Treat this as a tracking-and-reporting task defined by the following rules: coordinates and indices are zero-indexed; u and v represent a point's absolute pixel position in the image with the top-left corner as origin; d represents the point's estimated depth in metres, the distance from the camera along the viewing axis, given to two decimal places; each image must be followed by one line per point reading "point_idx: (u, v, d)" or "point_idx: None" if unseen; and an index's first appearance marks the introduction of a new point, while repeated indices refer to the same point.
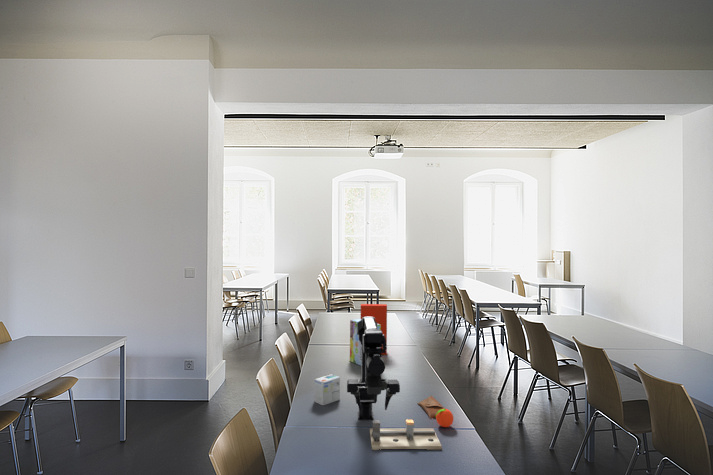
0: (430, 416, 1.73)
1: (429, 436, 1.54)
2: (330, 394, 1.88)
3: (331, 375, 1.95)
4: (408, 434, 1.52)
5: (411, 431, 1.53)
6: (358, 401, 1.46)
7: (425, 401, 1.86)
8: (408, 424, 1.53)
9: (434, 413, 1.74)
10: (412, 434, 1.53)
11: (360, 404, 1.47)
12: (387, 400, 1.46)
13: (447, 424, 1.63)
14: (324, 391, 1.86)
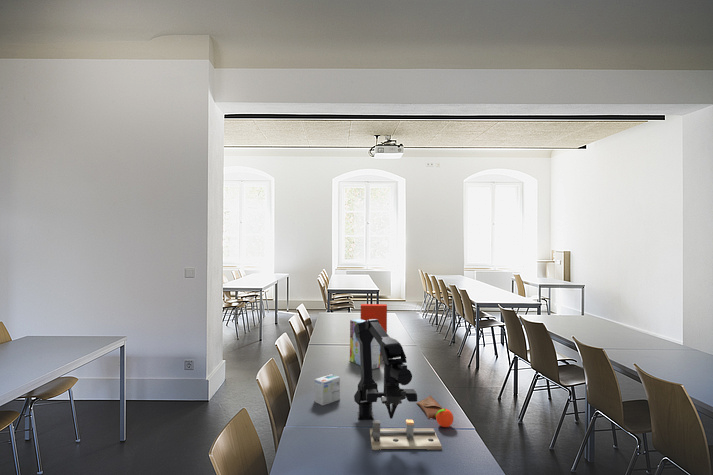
0: (428, 416, 1.73)
1: (429, 436, 1.54)
2: (330, 394, 1.88)
3: (331, 375, 1.95)
4: (408, 434, 1.52)
5: (411, 431, 1.53)
6: (389, 410, 1.52)
7: (424, 401, 1.86)
8: (408, 424, 1.53)
9: (432, 413, 1.74)
10: (412, 434, 1.53)
11: (391, 413, 1.53)
12: (393, 409, 1.52)
13: (447, 424, 1.63)
14: (324, 391, 1.86)
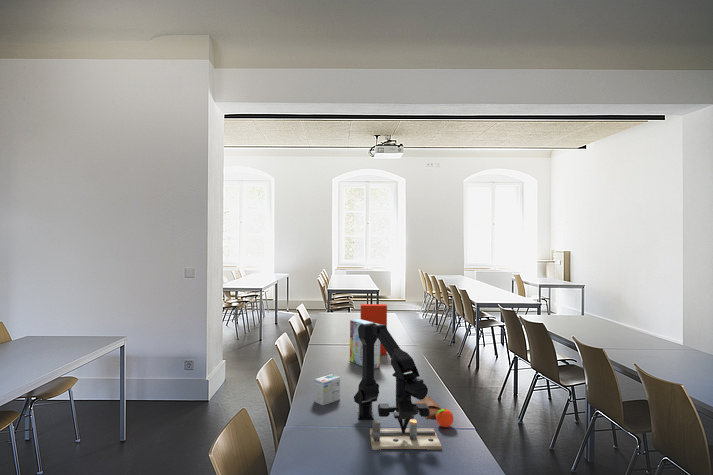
0: None
1: (429, 436, 1.54)
2: (330, 394, 1.88)
3: (331, 375, 1.95)
4: (411, 434, 1.53)
5: (414, 431, 1.53)
6: (401, 425, 1.52)
7: (422, 401, 1.86)
8: (411, 424, 1.53)
9: (431, 413, 1.74)
10: (415, 434, 1.53)
11: (403, 427, 1.53)
12: (405, 424, 1.52)
13: (447, 424, 1.63)
14: (324, 391, 1.86)
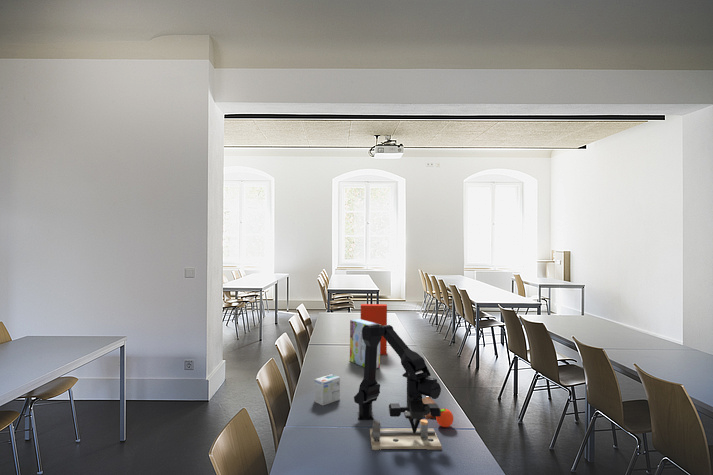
0: (426, 416, 1.73)
1: (429, 436, 1.54)
2: (330, 394, 1.88)
3: (331, 375, 1.95)
4: (422, 434, 1.53)
5: (425, 431, 1.53)
6: (412, 425, 1.52)
7: None
8: (422, 424, 1.53)
9: None
10: (426, 434, 1.53)
11: (414, 427, 1.53)
12: (416, 424, 1.52)
13: (447, 424, 1.63)
14: (324, 391, 1.86)
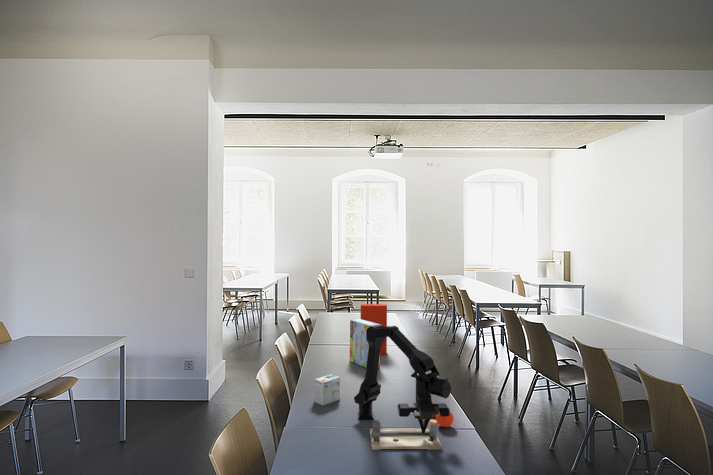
0: None
1: None
2: (330, 394, 1.88)
3: (331, 375, 1.95)
4: (431, 434, 1.53)
5: (434, 431, 1.53)
6: (421, 425, 1.52)
7: None
8: (431, 424, 1.53)
9: None
10: (435, 434, 1.53)
11: (423, 427, 1.53)
12: (425, 424, 1.52)
13: (447, 424, 1.63)
14: (324, 391, 1.86)
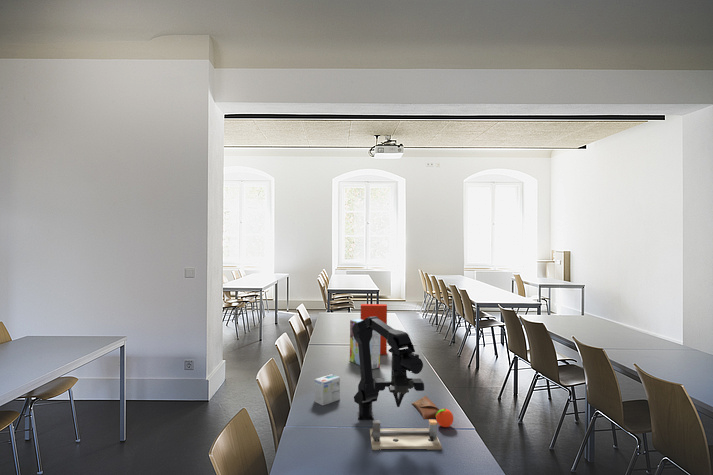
0: (424, 416, 1.73)
1: None
2: (330, 394, 1.88)
3: (331, 375, 1.95)
4: (431, 434, 1.53)
5: (434, 431, 1.53)
6: (396, 399, 1.55)
7: (419, 401, 1.86)
8: (431, 424, 1.53)
9: (428, 413, 1.74)
10: (435, 434, 1.53)
11: (398, 401, 1.56)
12: (400, 398, 1.55)
13: (447, 424, 1.63)
14: (324, 391, 1.86)
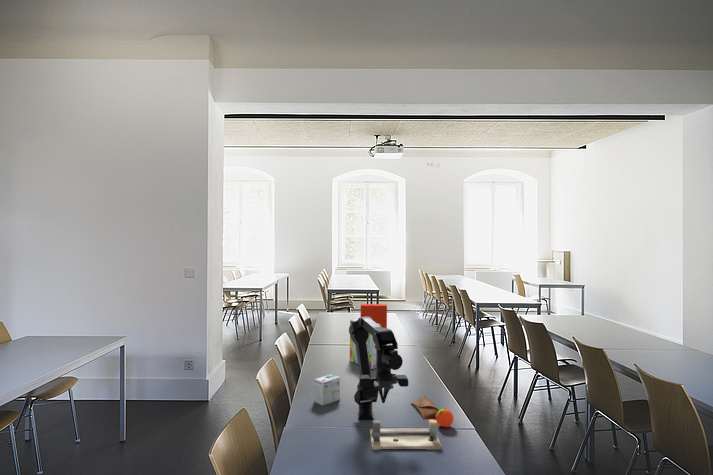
0: (423, 416, 1.73)
1: None
2: (330, 394, 1.88)
3: (331, 375, 1.95)
4: (431, 434, 1.53)
5: (434, 431, 1.53)
6: (381, 395, 1.58)
7: (418, 401, 1.86)
8: (431, 424, 1.53)
9: (427, 413, 1.74)
10: (435, 434, 1.53)
11: (383, 397, 1.58)
12: (385, 394, 1.58)
13: (447, 424, 1.63)
14: (324, 391, 1.86)
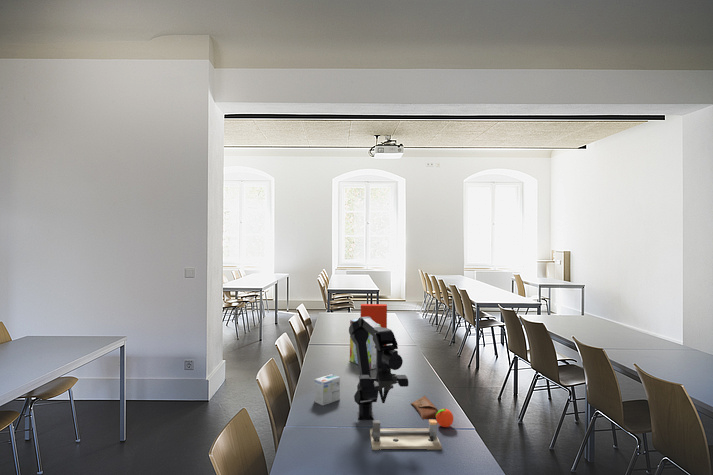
0: (422, 416, 1.73)
1: None
2: (330, 394, 1.88)
3: (331, 375, 1.95)
4: (431, 434, 1.53)
5: (434, 431, 1.53)
6: (381, 395, 1.58)
7: (418, 401, 1.86)
8: (431, 424, 1.53)
9: (426, 413, 1.74)
10: (435, 434, 1.53)
11: (383, 397, 1.58)
12: (385, 394, 1.58)
13: (447, 424, 1.63)
14: (324, 391, 1.86)
